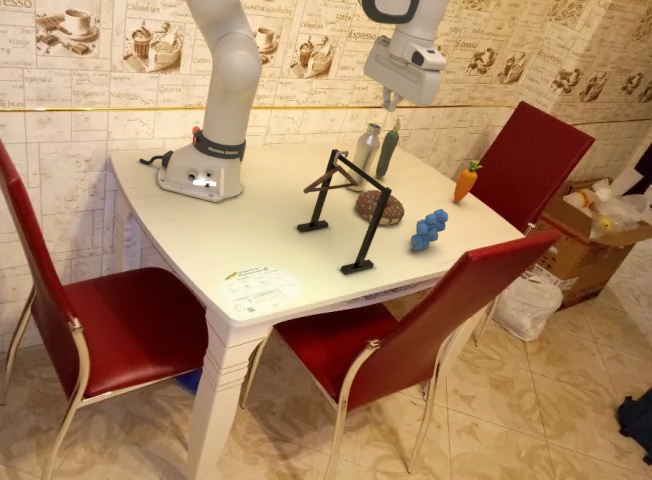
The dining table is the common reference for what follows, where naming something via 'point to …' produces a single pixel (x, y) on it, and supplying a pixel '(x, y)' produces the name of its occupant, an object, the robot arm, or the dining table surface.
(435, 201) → the dining table surface
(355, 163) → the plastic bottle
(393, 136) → the vegetable
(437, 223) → the grapes
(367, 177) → the rail
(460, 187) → the carrot
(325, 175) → the hanger
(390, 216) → the donut
